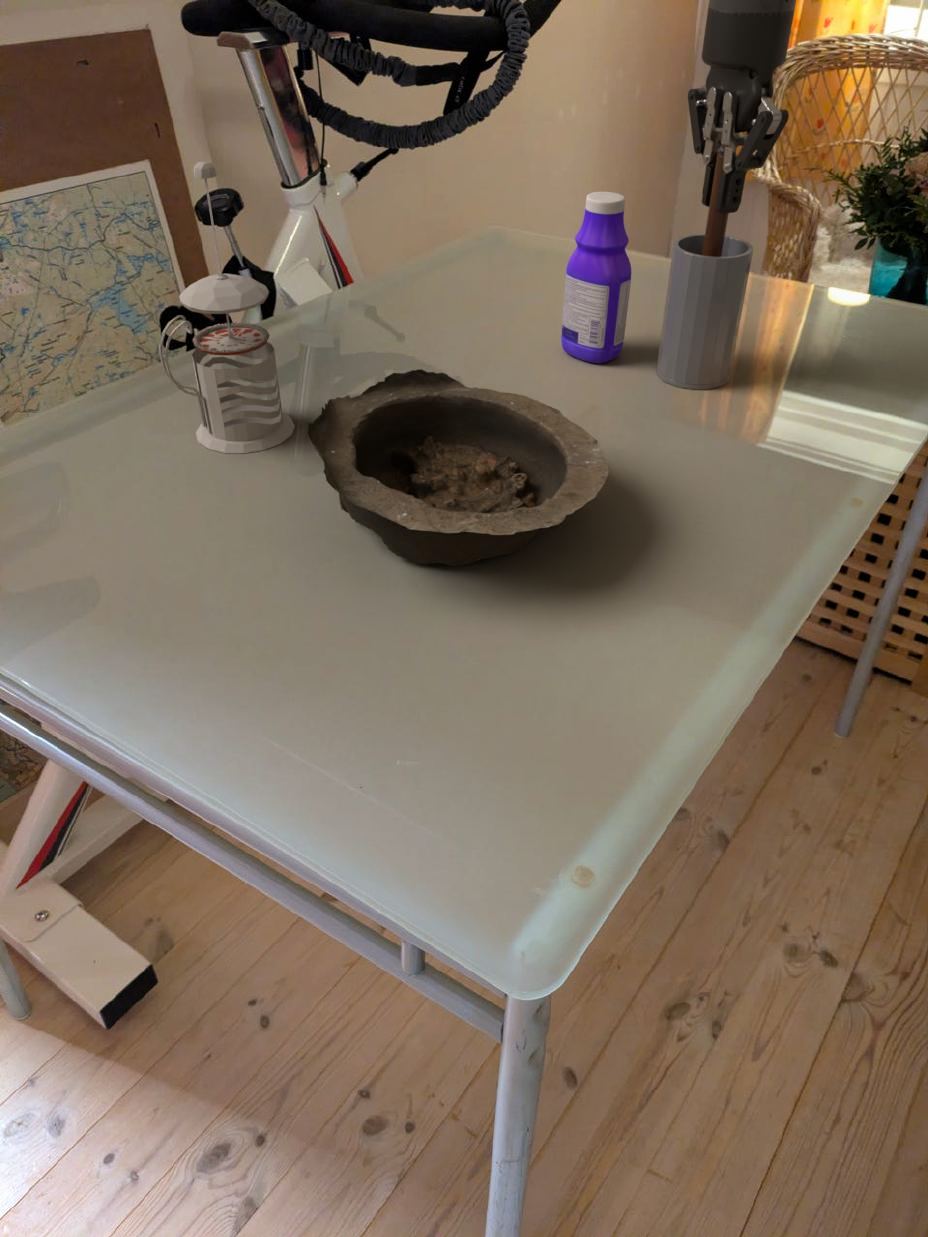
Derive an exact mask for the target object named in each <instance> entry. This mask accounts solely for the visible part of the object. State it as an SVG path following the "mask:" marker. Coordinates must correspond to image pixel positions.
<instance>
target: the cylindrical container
mask: <svg viewBox="0 0 928 1237" xmlns="http://www.w3.org/2000/svg"><path fill="white" fill-rule="evenodd" d="M704 237H705V233H695V234H686V235H683V236H680V237H678V238H677V239H675V240H674V241H673V244H672V250H671V259H670V265H669V273H668V282H667V289H666V296H665V303H664V311H663V317H662V319H663V320H662V326H661V334H660V341H659V348H658V356H657V362H656V363H657V364H656V374H657V376H658V378H659V379H660V380H662V381H663V382H665V383H667V384H669V385H671V386H674V387H678V388H680V389H681V388H682V389H687V390H712V389H716V388H719V387H722V386H724V385H726V384H727V383H728V382H729V381H730V377H731V373H732V368H733V363H734V361H733V360H734V358H735V357H734V356H735V350H736V346H737V340H738V335H739V330H740V326H741V325H740V324H741V318H742V314H743V307H744V302H745V298H746V297H745V296H746V292H747V287H748V280H749V277H750V276H749V275H750V272H751V271H750V269H751V264H752V259H753V255H754V254H753V253H754V245H752V243H750V242H749V241H747V240H744V239H743V238H739V237H736V236H733V235H726V234H725V238H724V244H723V250H722V256H721V257H713V256H703V255H702V250H703V243H704Z"/></svg>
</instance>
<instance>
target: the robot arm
mask: <svg viewBox="0 0 928 1237" xmlns="http://www.w3.org/2000/svg"><path fill="white" fill-rule="evenodd" d="M796 5H797V0H708V5H707V6H708V7H707V13H706V20H705V21H706V22H705V28H704V35H703V42H702V43H703V44H702V51H701V60H702V62H703V63H704V64H705V65H706V66H709V67H710V68H709V71H708V73H707V76H706V80H705V84H704V85H702V86H701V87H697V88H690V89H689V90H688V93H687V104H688V111H689V120H690V127H691V129H690V130H691V135H692V136H691V137H692V142H693V143H692V145H693V152H694V153H695V155H701V156H702V162H703V165H705V170H704V171H705V172H704V177H703V178H704V179H703V184H702V185H703V186H702V190H701V193H702V196H701V197H702V198H701V204H702V205H703V206H705V207H706V208H707V207H708V208H709V204H710V197H711V191H712V184H713V178H714V171H715V165H716V158H717V154H718V153H720V152H725V153H724V162H723V170H724V172H722V174H721V180H720V187H719V193H718V200H717V206H716V210H717V211H718V212H720V213H722V214H726V213H729V214H732V213H733V214H734V213H736V212H738V210H739V209H740V206H741V203H742V199H743V192H744V187H745V183H746V182H745V180H746V176H747V173H748V172H749V171H752V170H756V169H761V168H763V167H764V165H765V163H766V161H767V160H768V158H769V156H770V153H771V152H772V150H773V148H774V147H775V145H776V143H777V141H778V139H779V137H780V135H781V134H782V132H783V131H784V129H785V127H786V125H787V123H788V121H789V118H790V114H789V111H788V109H786V108H785V109H784V108H783V109H778V107H777V106H776V104H775V103H774V101H773V97H774V74H775V71H776V70H777V69H778V68H780V67H782V66H783V65H784V64H785V62H786V59H787V55H788V54H787V53H788V48H789V44H790V38H791V32H792V28H793V22H794V16H795V12H796ZM741 133H744V134H741ZM740 146H741V149H740V151H739V152H738V153H737V149H738V147H740ZM736 154H738V156H737V158H735V157H736Z"/></svg>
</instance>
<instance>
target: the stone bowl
mask: <svg viewBox="0 0 928 1237" xmlns="http://www.w3.org/2000/svg"><path fill="white" fill-rule="evenodd" d="M324 404H325V405H324V406H322V407H321V413H320V415H318V417H316V418H315V420H314V421H313V423H312V422H311V423H307V424H308V425H307V433H306V434H307V437H308V440H309V441H310V443H311V445H312V447H313V450H314V451H315V452H317V454H318V455H319V457H320V459H321V460H322V462H323V465H324V466H323V467H324V469H323V474H324V476H325V481H326V482H327V483H328V485H329V486H330V487H331V489H334V490H335V492H337V494H338V499H339V505H340V508H341V509H342V510H343V511H344V512H345V513H347V514H348V515H349V517H350V518H351V519H352V520H354V522H356V523H357V524H360V525H361V526H363V527H366V528H368V529H370V530H371V531H373V532H374V533H375V534H377V535H378V536H379V538H380V539H381V540H382V542H383V544H384V545H385V547H387V548H388V549H389V551H390V552H392V553H393V554H394V555H395V556H397V557H399V558H401V559H405V560H407V561H409V562H411V563H415V564H419V565H431V564H436V563H438V564H442V565H443V564H444V565H447V566H449V567H457V566H464V565H467V564H468V565H469V564H470V565H471V564H474V563H475V562H478V561H480V560H487V559H491V558H497V557H500V556H503V555H507V554H508V555H509V554H513V553H519V551H521V550H522V549H523V548H525V547H526V545H528V543H529V542H530V541H531V540H532V539H533V538H534V536H535V535H536V534H537V533H539V531H540V530H541V529H545V528H550V527H554V526H558V525H560V524H562V523H563V521H564V520H565V519H566V516H568V515H572V514H574V513H575V511H577V510H579V509H581V508H583V507H584V506H585V505H587V503H589V502H591V501H592V500H595V498H596V497H597V495H598V493H599V492H600V491H601V489H602V488H603V486H604V485H605V483H606V481H607V479H608V477H609V467H608V465H607V462H606V461H604V458H602V456H603V454H604V451H602V450H601V449H600V446H599V444H598V442H599V440H597V439H596V438H595V437H594V436H592V434H590V433H589V432H588V431H586V429H584V428H582V427H581V426H580V425H578V424H577V423H575V422H572V421H571V420H569V419H568V418H567V417H565V416H564V415H563V414H562V412H561V410H559V409H557V408H554V407H552V406H550V405H547V404H546V403H544V402H540V401H539V400H536V399H534V398H532V397H528V396H526V395H523V394H516V393H512V392H506V391H505V392H504V391H503V392H502V391H497V390H495V389H489V388H482V387H481V388H480V387H475V386H474V387H468V386H466V385H464V384H463V383H462V382H461V381H459V380H457V379H454V378H452V377H451V376H449V375H448V374H447V373H446V372H445V373H444V372H437V373H436V372H435V371H426V370H424V369H421V368H420V369H419V368H418V369H416V370H415V369H412V370H409V371H406V372H393V373H391V374H389V375H387V376H385V377H384V380H383V381H382V380H381V381H377V383H375V384H374V385H371V386H369V387H367V388H366V389H365V390H364V391H363V392H362V393H361V394H360V395H356V396H353V397H351V396H350V395H349V394H347V395H346V396H344V397H339V396H337V397H336V398H329V399H328V401H327V403H326V402H325V403H324Z"/></svg>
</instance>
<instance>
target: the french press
mask: <svg viewBox="0 0 928 1237" xmlns="http://www.w3.org/2000/svg"><path fill="white" fill-rule="evenodd" d="M193 176H194V178H196V179H200V180H201V179H202V180H204V185H205V191H206V192H205V193H206V198H207V203H208V211H209V215H210V224H211V229H212V235H213V242H214V248H215V253H216V261H217V267H218V274H212V275H210V274H209V275H208V276H206V277H203V278H200V279H198V280H197V281H195V282H193V283H191V284H190V285H188V286H187V287H186V288H185V289H184V290H183V291H182V292H181V293H180V294H179V296H178V298H179V300H180V304H181V305H182V307H184V308H185V309H187V310H189V311H191V312H193V313H200V314H206V315H207V314H209V315H210V314H211V315H213V314H214V315H224V314H225V315H226V322H225V323H221V324H220V323H217V324H214V325H212V326H206V328H203V329H201V330H200V331H197V332H196V333H195V334H194V336H193V338H192V339H191V342H192V344H193V346H194V347H195V348H194V351H193V352H192V354H191V358H192V359H191V360H192V363H193V369H194V374H195V379H196V385H197V389H196V388H195V387H192V386H188V385H185V384H181V383H180V382H179V381H177V380H176V379H175V377H174V376H173V374H172V372H171V370H170V364H169V358H168V355H169V347H170V343H171V340H172V339H173V337H174V336H175V334H176V332H177V331H178V329H180V328H181V327H182V326H184V330H186V332H187V333H188V334H190V335H192V334H193V324H192V323H191V321H189V320H187V318H186V317H185V316H184V315H183V314H178V315H176V316H175V317H174V318H173V319H171V320H170V321H168V322H167V324H166V325H165V327H164V329H163V331H162V333H161V336H160V339H159V346H158V353H159V359H160V363H161V366H162V368H163V371H164V373H165V375H166V376H167V377H168V378H169V380H170V381H171V382H172V383H173V384H174V385H175V387H176V389H178V390H180V391H182V392H183V393H185V394H187V395H191V396H194V397H197V403H198V408H199V413H200V418H201V424H200V425H199V427H198V429H197V430H196V432H195V436H196V439H197V442H198V443H199V444H201V445H202V446H203V447H205V448H206V449H208V450H211V451H214V452H220V453H224V454H249V453H255V452H261V451H262V452H263V451H265V450H268V449H270V448H273V447H276V446H278V445H281V444H282V443H283V442H285V441H287V439H289V438H290V437H291V436H292V435H293V432H294V430H295V427H296V425H295V424H294V422H293V419H292V418H291V417H290V416H288V415H287V414H286V413H284V412H283V406H282V399H281V392H280V383H279V376H278V368H277V360H276V351H275V347H274V346H273V344H272V343H271V342H269V338H270V336H271V335H270V333H269V331H268V329H266V328H264V327H263V326H260V325H259V324H257V325H256V324H253V323H251V324H250V323H249V322H248V323H247V322H245V323H244V322H238V323H237V322H235V323H234V322H231V321H230V318H229V314H233V313H240V312H244V311H247V310H250V309H255V308H256V307H258V306H261V305H263V304H264V303H265V302H266V300H267V298H268V297H269V294H270V291H269V289H268V288H267V286H266V285H265V284H263V283H261V282H259V281H258V280H256V279H254V278H253V277H249V276H244V275H238V274H233V273H222V267H221V261H220V254H219V247H218V242H217V235H216V230H215V224H214V217H213V216H214V215H213V210H212V204H211V198H210V197H211V196H210V192H209V185H208V179H213V178H216V177H217V171H216V168H215V166H214V164H213V163H212V162H210V161H207V160H206V161H205V160H203V161H198V162H197V163H196V164H195V165H194V166H193ZM178 319H182V321H181V322H179V324H177V326H175V327H174V328H173V329H172V331H171V333H170V335H169V336H168V338H167V341H166V344H165V345H166V346H165V353H163V346H164V340H165V337H166V333H167V332H168V331H169V328H170V327H171V325H172V324H174V322H176V321H177V320H178ZM207 355H212V357H211V358H210V359H208V360H207V361H206V362H204V364H203V365H202V364H201V362H202V360H203V358H204V357H206V356H207ZM226 356H240V357H242V358H248V359H251V360H261V362H259V363H256V364H251V363H248V362H244V361H239V360H236V359H234V358H233V359H232V358H230V357H226ZM219 364H226V365H228V366H229V365H230V366H233V367H236V368H214V367H212V366H214V365H219ZM236 380H241V381H244V382H249V383H253V384H264V387H262V386H255V385H245V384H244V385H243V384H241V383H236V382H234V381H236ZM221 388H223V389H221ZM189 390H191V391H193V392H191V391H189ZM240 393H244V394H245V393H247V394H253V395H256V396H257V395H258V396H266V399H259V398H253V397H247V396H244V395H240Z"/></svg>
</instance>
